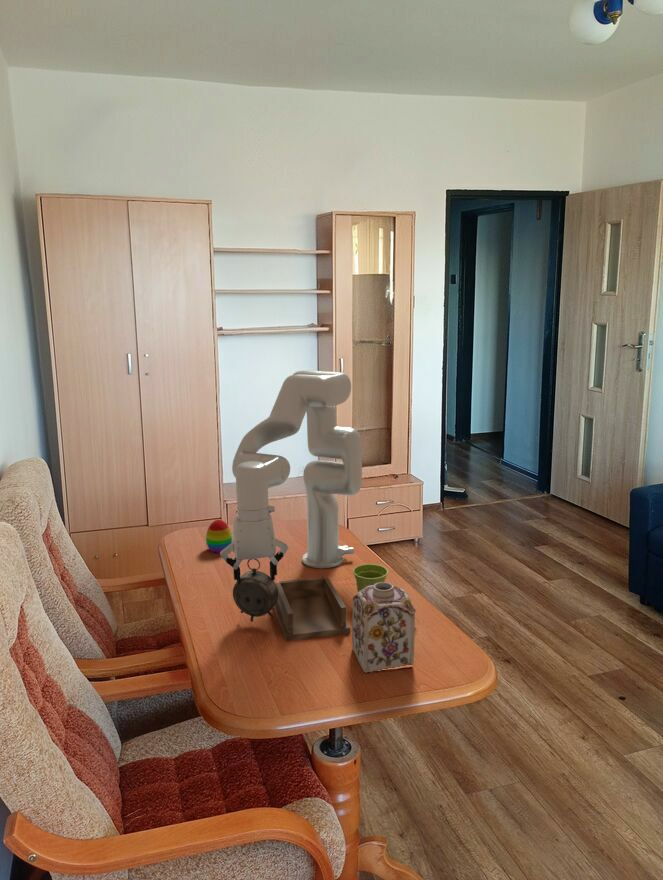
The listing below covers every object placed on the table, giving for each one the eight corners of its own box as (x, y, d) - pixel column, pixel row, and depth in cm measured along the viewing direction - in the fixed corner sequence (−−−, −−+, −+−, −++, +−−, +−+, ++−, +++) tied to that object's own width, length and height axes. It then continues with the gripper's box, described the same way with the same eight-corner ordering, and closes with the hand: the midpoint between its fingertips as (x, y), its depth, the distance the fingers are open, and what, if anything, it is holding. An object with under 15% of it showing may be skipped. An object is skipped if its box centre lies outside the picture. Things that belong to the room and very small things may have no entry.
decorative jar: (414, 669, 160) (416, 594, 156) (364, 675, 158) (364, 599, 154) (398, 642, 172) (400, 572, 168) (351, 648, 169) (351, 577, 165)
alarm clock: (280, 616, 181) (277, 556, 177) (271, 626, 176) (269, 565, 172) (240, 610, 184) (237, 551, 180) (231, 619, 179) (227, 559, 175)
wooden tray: (330, 598, 195) (330, 576, 194) (350, 633, 176) (350, 608, 175) (272, 604, 191) (271, 582, 190) (285, 641, 172) (285, 616, 171)
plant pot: (394, 603, 192) (395, 573, 190) (365, 611, 187) (365, 580, 185) (374, 590, 200) (375, 561, 198) (346, 598, 195) (346, 568, 193)
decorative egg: (211, 544, 234) (210, 515, 232) (235, 546, 233) (234, 516, 230) (202, 553, 227) (201, 523, 224) (227, 555, 225) (226, 525, 223)
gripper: (285, 504, 178) (287, 569, 183) (215, 510, 174) (218, 577, 179) (291, 514, 171) (293, 582, 176) (218, 521, 167) (221, 590, 172)
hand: (255, 579), depth 177 cm, fingers closed on alarm clock, 7 cm apart
